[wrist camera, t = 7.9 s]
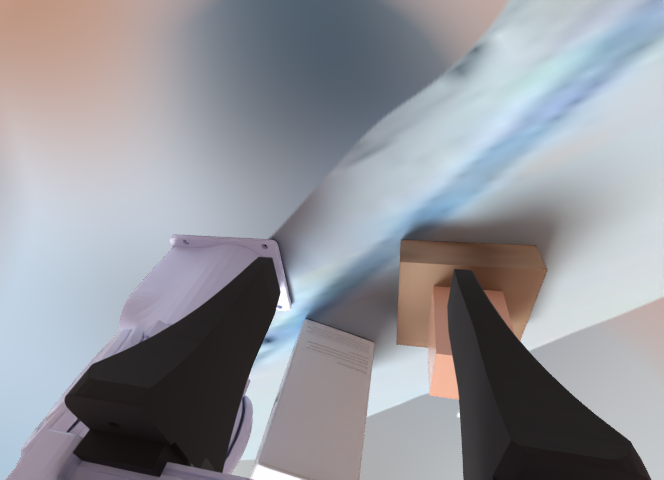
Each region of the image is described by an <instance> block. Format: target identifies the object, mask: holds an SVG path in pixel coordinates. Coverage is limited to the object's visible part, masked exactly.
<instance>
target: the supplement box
mask: <svg viewBox="0 0 664 480" xmlns="http://www.w3.org/2000/svg"><path fill="white" fill-rule="evenodd" d="M374 346H375V343H374V342H371V341H369V340H366V339H363V338H360V337H357V336H355V335H352V334H349V333H346V332H343V331H340V330H338V329H335V328H332V327H329V326H326V325H323V324H320V323H318V322H315V321H311V320H308V319H305V320H304V322H303V325H302V327H301V330H300V333H299V336H298V338H297V341H296V344H295V346H294V349H293V351H292V354H291V356H290V359H289V362H288V365H287V367H286V370H285V373H284V376H283V379H282V382H281V385H280V387H279V390H278V393H277V396H276V399H275V402H274V405H273V408H272V411H271V414H270V417H269V420H268V423H267V426H266V429H265V432H264V435H263V438H262V441H261V444H260V447H259V450H258V453H257V456H256V459H255V462H254V465H253V468H252V472H251V475H250V478H249V479H254V480H359V476H360V468H361V459H362V450H363V442H364V432H365V424H366V416H367V407H368V398H369V389H370V380H371V372H372V364H373V354H374Z"/></svg>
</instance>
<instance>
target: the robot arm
mask: <svg viewBox="0 0 664 480" xmlns="http://www.w3.org/2000/svg"><path fill="white" fill-rule="evenodd" d="M186 240H187V241H188V242H187V241H186ZM170 242H171V244H172V246H173V247H172V249H171V250H170V251H169V252H168V253H167V254H166V255H165V256H164V257H163V259H162V260H161V261H160V262H159V263H158V264H157V265H156V266H155V267H154V269H153V270H152V271H151V272H150V273H149V274H148V275H147V276H146V278H145V279H144V280H143V281H142V282H141V283H140V284H139V285H138V286H137V288H136V289H135V290H134V291H133V292H132V293H131V295H130V296H129V298H128V299H127V301H126V303H125V305H124V308H123V310H122V313H121V317H120V322H119V332H118V333H117V334H116V335H115V336H114V337H113V338H112V339H111V340H110V341H109V342H108V343H107V344H106V345H105V346H104V347H103V348H102V350H101V351H100V352H99V353H98V354H97V355H96V356H95V357H94V358H93V359H92V361H91V362H90V363H89V364H88V365H87V366H86V367H85V369H84V370H83V371H82V372H81V373H80V374H79V375H78V377H77V378H76V379H75V380H74V381H73V382H72V384H71V385H70V386H69V387H68V388H67V390H66V391H65V392H64V393H63V394H62V396H61V397H60V398H59V400H58V401H57V402H56V403H55V405H54V406H53V407H52V409H51V410H50V411H49V413H48V414H47V416H46V417H45V419H44V420H43V421H42V422H41V423H40V424H39V426H38V427H37V428H36V429H35V430H34V432H33V433H32V434H31V436H30V437H29V439H28V440H27V442H26V443H25V445H24V446H23V448H22V450H21V457H20V459H19V461H18V463H17V466H16V468H15V469H14V470H13V471H12V473H11V474H10V475H9V476H8V478H7V479H6V480H254V479H249V478H244V477H239V476H234V475H230V474H231V473H232V472H233V470H234V469H235V467H236V465H237V464H238V462H239V460H240V458H241V456H242V454H243V452H244V450H245V448H246V445H247V443H248V440H249V437H250V433H251V429H252V415H253V408H252V403H251V400H250V399H249V398H248V397H247V396H245V393H246V390H247V388H248V385H249V383H250V380H249V379H248V377H249V374H250V371H251V368H252V366H253V363H254V361H255V358H256V356H257V354H258V351H259V349H260V347H261V345H262V342H263V340H264V338H265V335H266V333H267V331H268V329H269V326H270V324H271V322H272V319H273V317H274V315H275V311H276V310H282V311H289V310H290V309H291V301H290V297H289V292H288V288H287V283H286V279H285V274H284V270H283V265H282V261H281V256H280V252H279V247H278V244H277V242H276V241H274V240H270V239H251V238H230V237H211V236H193V235H192V236H191V235H173V236H172V237H171V238H170ZM264 244H265V245H267V246H265V245H264ZM447 313H448V332H449V338H450V344H451V350H452V356H453V362H454V368H455V374H456V380H457V386H458V394H459V405H460V420H461V436H462V454H463V476H464V480H651V478H650V476H649V474H648V472H647V470H646V468H645V466H644V464H643V462H642V460H641V458H640V457H639V455H638V453H637V452H636V450H635V449H634V447H633V445H632V443H631V442H630V441H629V440H628V439H627V438H625V437H624V436H623V435H621V434H620V433H619V432H617V431H616V430H615V429H614V428H612V427H611V426H610V425H608V424H607V423H606V422H604V421H603V420H602V419H601V418H599V417H598V416H597V415H595V414H594V413H593V412H592V411H591V410H589V409H588V408H587V407H586V406H585V405H583V404H582V403H581V402H580V401H579V400H578V399H576V398H575V397H574V396H573V395H572V394H571V393H570V392H569V391H567V390H566V389H565V388H564V387H563V386H562V385H561V384H560V383H559V382H558V381H557V380H556V379H555V378H554V377H552V375H551V374H550V373H549V372H548V371H547V370H546V369H545V368H544V367H543V366H542V365H541V364H540V363H539V362H538V361H537V360H536V359H535V358H534V357H533V356H532V354H531V353H530V352H529V351H528V350H527V349H526V348H525V347H524V345H523V344H522V343H521V342H520V341H519V339H518V338H517V337H516V336H515V334H514V333H513V332H512V331H511V329H510V328H509V327H508V325H507V324H506V323H505V321H504V320H503V319H502V317H501V316H500V314H499V313H498V311H497V310H496V309H495V307H494V306H493V304H492V303H491V301H490V300H489V298H488V297H487V295H486V293H485V292H484V290H483V288H482V287H481V285H480V283H479V281H478V280H477V278H476V276H475V274H474V272H473V271H472V270H463V269H454V271H453V277H452V282H451V288H450V294H449V299H448V305H447Z"/></svg>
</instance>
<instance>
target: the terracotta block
mask: <svg viewBox="0 0 664 480" xmlns="http://www.w3.org/2000/svg"><path fill="white" fill-rule="evenodd" d="M450 288H451V287H438V286H433V290H432V298H431V305H430V313H429V321H428V365H429V395H431V396H437V397H444V398H451V399H458V400H459V394H458V386H457V380H456V374H455V368H454V362H453V356H452V350H451V344H450V338H449V332H448V313H447V305H448V299H449V294H450ZM484 292H485V293H486V295H487V297H488V298H489V300H490V301H491V303H492V304H493V306H494V307H495V309H496V310H497V311H498V313H499V314H500V316H501V317H502V319H503V320H504V321H505V323H506V324H507V325H508V327H509V328H510V329H511V331H512V332H513V333H514V331H513V327H512V323H511V320H510V316H509V312H508V309H507V305H506V301H505V297H504V294H503V291H491V290H484Z"/></svg>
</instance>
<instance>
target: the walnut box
mask: <svg viewBox="0 0 664 480" xmlns="http://www.w3.org/2000/svg"><path fill="white" fill-rule="evenodd" d="M454 269H463V270H472V271H473V272H474V274H475V276H476V278H477V280H478V281H479V283H480V285H481V287H482V288H483V290H491V291H503V294H504V297H505V301H506V305H507V309H508V312H509V316H510V320H511V323H512V327H513V331H514V334H515V336H516V337H517V338H518V339H519V341H520V340H521V337H522V335H523V332H524V330H525V327H526V324H527V322H528V319H529V317H530V314H531V311H532V309H533V306H534V304H535V301H536V298H537V296H538V293H539V291H540V288H541V285H542V283H543V280H544V278H545V275H546V273H547V268H546V266H545V263H544V261H543V259H542V257H541V255H540V253H539V250H538V248H537V246H536V245H513V244H489V243H465V242H441V241H418V240H401V246H400V269H399V295H398V320H397V345H407V346H417V347H427V348H428V321H429V313H430V305H431V298H432V290H433V286H438V287H451V282H452V277H453V271H454Z"/></svg>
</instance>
